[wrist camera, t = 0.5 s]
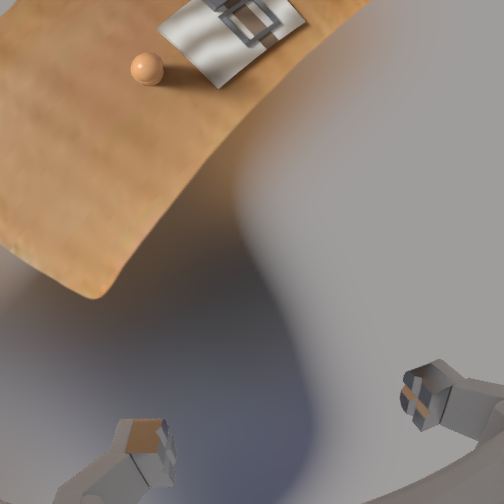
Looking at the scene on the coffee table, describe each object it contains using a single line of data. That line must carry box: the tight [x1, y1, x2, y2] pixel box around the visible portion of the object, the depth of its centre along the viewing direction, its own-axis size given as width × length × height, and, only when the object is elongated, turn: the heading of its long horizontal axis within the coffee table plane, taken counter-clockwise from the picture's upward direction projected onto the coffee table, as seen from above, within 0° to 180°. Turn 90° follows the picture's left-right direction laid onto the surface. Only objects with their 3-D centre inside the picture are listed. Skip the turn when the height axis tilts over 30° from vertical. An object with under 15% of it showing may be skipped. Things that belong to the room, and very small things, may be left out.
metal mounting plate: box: [156, 0, 306, 89], centre depth 40 cm, size 15×20×2 cm
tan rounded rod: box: [131, 52, 164, 86], centre depth 36 cm, size 4×4×15 cm
